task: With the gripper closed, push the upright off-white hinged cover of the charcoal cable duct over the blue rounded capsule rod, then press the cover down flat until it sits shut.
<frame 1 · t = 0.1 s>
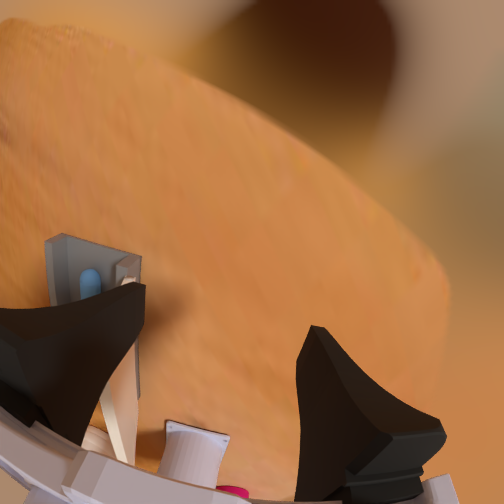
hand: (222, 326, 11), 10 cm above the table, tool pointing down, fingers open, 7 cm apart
blue rounded capsule rod: (100, 326, 25), resting on cable duct
cable duct: (100, 326, 25), on the table
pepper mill: (231, 490, 36), on the table
bottle: (101, 437, 34), on the table
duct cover: (123, 396, 18), point 7 cm above the table, hinge at 105.0°
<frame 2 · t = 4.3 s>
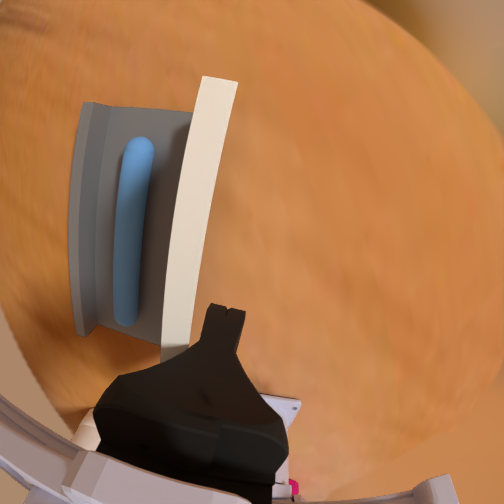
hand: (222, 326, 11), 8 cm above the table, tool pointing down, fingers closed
blue rounded capsule rod: (136, 235, 19), resting on cable duct
cable duct: (136, 235, 19), on the table
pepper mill: (277, 484, 30), on the table
bottle: (114, 425, 28), on the table
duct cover: (182, 305, 12), point 7 cm above the table, hinge at 101.6°, touching gripper
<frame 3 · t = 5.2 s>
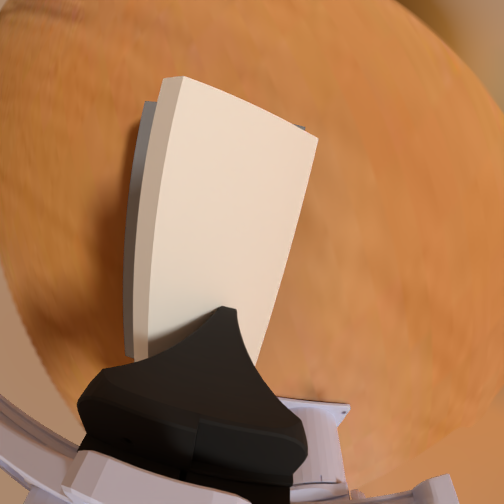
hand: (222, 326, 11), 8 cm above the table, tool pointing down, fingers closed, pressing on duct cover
cable duct: (201, 251, 19), on the table
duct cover: (223, 315, 12), point 7 cm above the table, hinge at 59.6°, touching gripper
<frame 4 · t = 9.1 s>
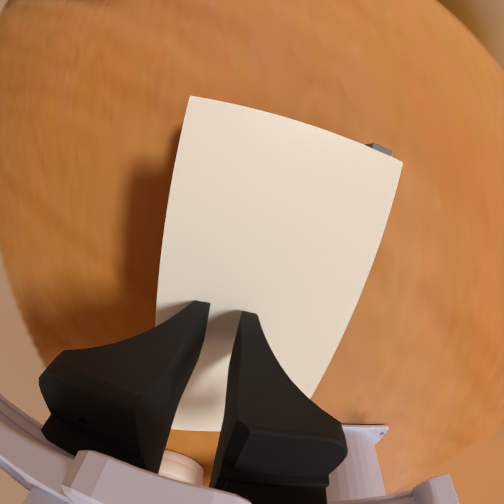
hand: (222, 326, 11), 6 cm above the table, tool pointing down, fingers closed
bottle: (173, 461, 26), on the table
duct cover: (259, 322, 12), point 5 cm above the table, hinge at 16.0°, touching gripper
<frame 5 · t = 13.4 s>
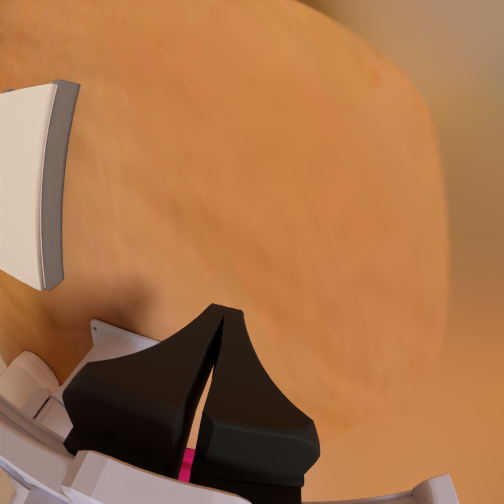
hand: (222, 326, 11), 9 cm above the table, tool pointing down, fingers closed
cable duct: (33, 181, 19), on the table
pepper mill: (191, 456, 31), on the table
bottle: (41, 370, 28), on the table
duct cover: (10, 186, 16), point 3 cm above the table, hinge at -2.0°, touching cable duct
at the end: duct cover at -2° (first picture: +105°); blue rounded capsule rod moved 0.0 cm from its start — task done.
